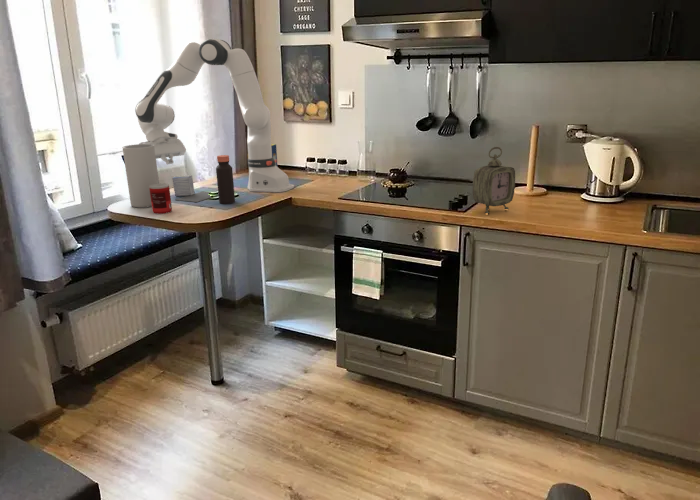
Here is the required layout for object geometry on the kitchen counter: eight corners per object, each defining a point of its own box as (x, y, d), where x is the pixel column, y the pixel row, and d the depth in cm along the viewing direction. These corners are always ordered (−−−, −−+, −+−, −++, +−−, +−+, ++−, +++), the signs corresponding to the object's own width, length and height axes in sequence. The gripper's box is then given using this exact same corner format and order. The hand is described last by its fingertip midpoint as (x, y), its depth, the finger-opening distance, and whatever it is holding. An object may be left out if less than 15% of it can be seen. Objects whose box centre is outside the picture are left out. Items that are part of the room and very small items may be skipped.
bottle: (216, 202, 246) (212, 155, 240) (230, 199, 250) (226, 154, 244) (223, 205, 241) (218, 157, 235) (238, 202, 245) (233, 155, 239)
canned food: (167, 208, 238) (163, 182, 234) (175, 211, 232) (172, 185, 228) (149, 211, 233) (145, 185, 229) (157, 215, 227) (153, 188, 224)
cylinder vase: (145, 209, 237) (137, 148, 229) (124, 206, 243) (115, 147, 235) (167, 202, 247) (160, 144, 239) (147, 200, 253) (139, 143, 245)
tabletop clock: (486, 217, 213) (490, 150, 205) (469, 212, 220) (472, 147, 212) (513, 211, 220) (517, 146, 212) (495, 206, 227) (499, 143, 220)
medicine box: (195, 193, 262) (192, 175, 259) (191, 195, 258) (188, 176, 255) (178, 194, 263) (175, 175, 260) (174, 196, 259) (171, 177, 256)
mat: (222, 193, 262) (222, 193, 262) (196, 202, 247) (196, 201, 246) (202, 191, 267) (202, 191, 267) (175, 200, 252) (175, 199, 252)
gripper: (138, 138, 258) (150, 161, 254) (179, 133, 271) (192, 156, 268) (135, 147, 263) (147, 170, 259) (176, 142, 276) (188, 164, 272)
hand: (170, 163), depth 263 cm, fingers closed
